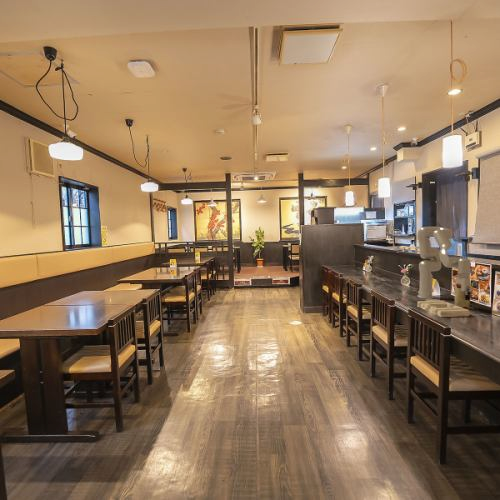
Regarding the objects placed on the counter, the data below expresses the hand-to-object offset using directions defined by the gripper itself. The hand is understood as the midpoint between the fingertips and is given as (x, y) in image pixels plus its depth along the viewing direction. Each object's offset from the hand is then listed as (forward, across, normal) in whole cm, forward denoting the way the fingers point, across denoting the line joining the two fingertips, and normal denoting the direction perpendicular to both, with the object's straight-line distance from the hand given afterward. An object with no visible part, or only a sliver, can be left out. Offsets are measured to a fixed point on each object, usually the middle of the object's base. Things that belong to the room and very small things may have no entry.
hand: (462, 298), depth 224 cm
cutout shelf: (+7, +5, -19) cm, 21 cm away
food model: (+8, 0, 0) cm, 8 cm away
